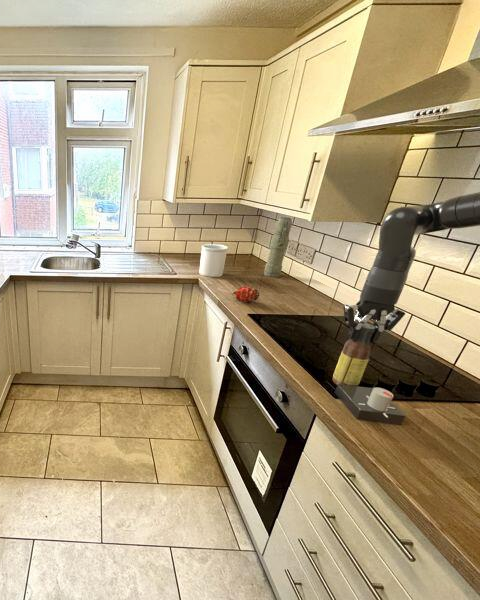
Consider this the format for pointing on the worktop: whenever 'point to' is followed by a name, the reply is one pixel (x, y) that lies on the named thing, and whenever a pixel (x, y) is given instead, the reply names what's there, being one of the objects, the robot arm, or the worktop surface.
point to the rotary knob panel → (358, 406)
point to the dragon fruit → (246, 294)
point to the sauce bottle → (354, 358)
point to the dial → (380, 399)
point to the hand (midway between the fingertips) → (361, 340)
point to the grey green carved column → (278, 247)
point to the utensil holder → (212, 260)
